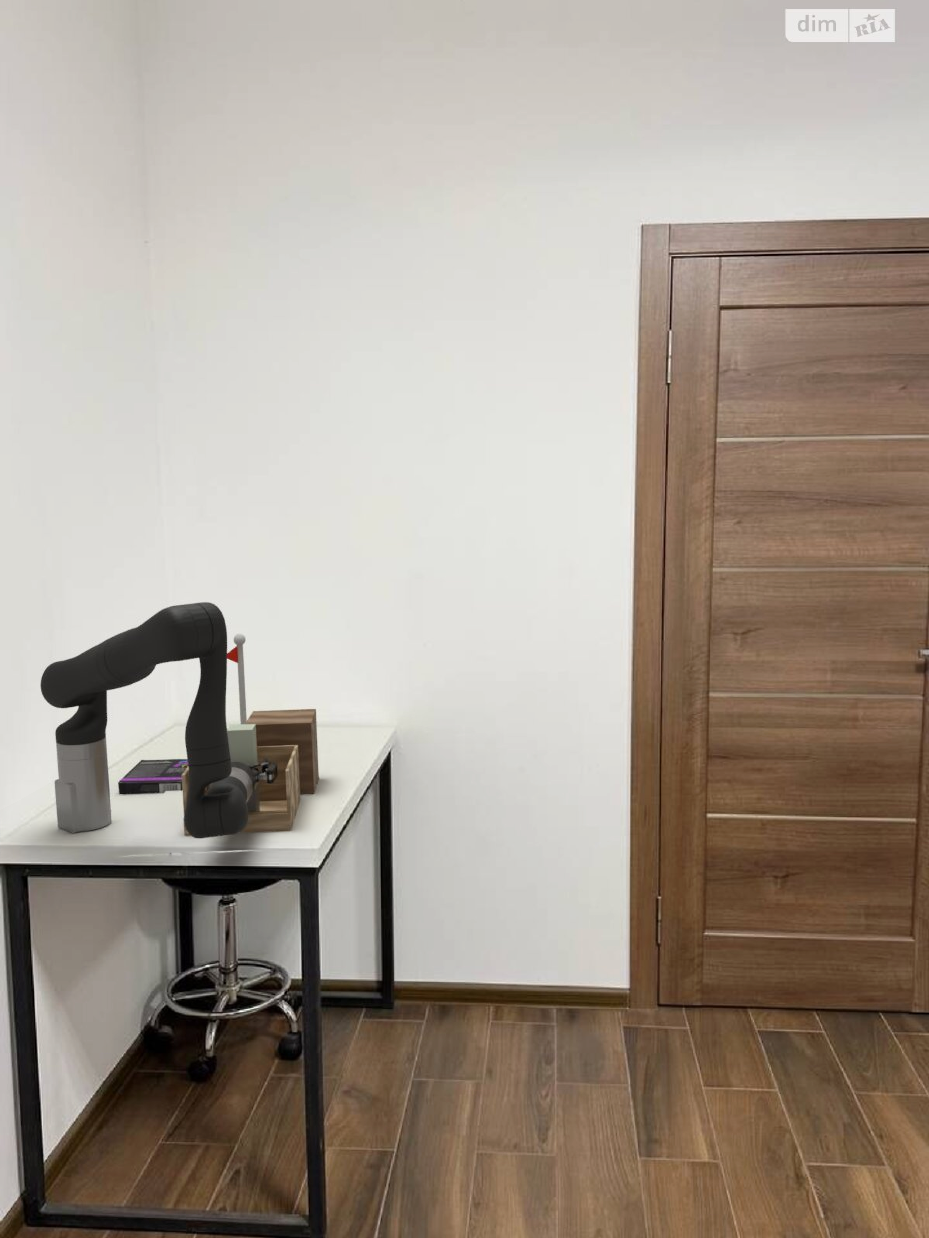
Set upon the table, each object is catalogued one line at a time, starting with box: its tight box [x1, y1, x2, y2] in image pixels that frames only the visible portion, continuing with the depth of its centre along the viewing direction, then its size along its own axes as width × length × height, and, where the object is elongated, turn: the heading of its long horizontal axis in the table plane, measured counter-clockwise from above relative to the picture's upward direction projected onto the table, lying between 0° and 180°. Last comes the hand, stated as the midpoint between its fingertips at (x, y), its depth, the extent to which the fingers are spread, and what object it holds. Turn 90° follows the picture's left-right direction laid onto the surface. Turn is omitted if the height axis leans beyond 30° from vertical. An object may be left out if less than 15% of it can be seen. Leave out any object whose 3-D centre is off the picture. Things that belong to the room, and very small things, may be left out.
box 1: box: [117, 758, 189, 795], centre depth 232 cm, size 14×4×20 cm
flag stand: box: [227, 633, 248, 725], centre depth 256 cm, size 13×13×30 cm
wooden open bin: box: [181, 745, 301, 836], centre depth 204 cm, size 21×20×12 cm
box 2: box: [227, 724, 260, 812], centre depth 204 cm, size 5×5×18 cm
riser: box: [245, 708, 320, 796], centre depth 224 cm, size 14×14×16 cm
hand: (244, 764), depth 205 cm, fingers open, 8 cm apart
